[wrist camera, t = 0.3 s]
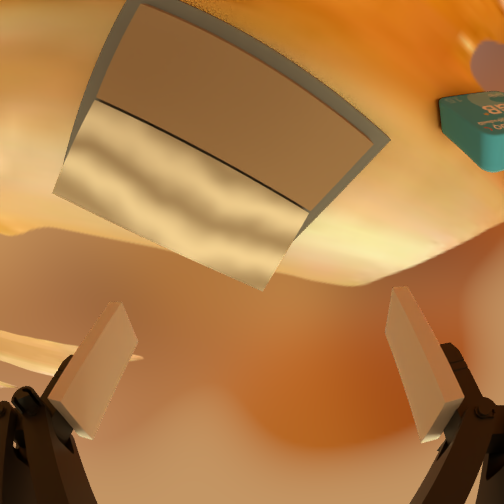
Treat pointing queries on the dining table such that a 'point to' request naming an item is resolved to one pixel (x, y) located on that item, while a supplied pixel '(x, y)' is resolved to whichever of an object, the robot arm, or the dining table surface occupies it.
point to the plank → (177, 197)
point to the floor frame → (231, 102)
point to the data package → (476, 126)
